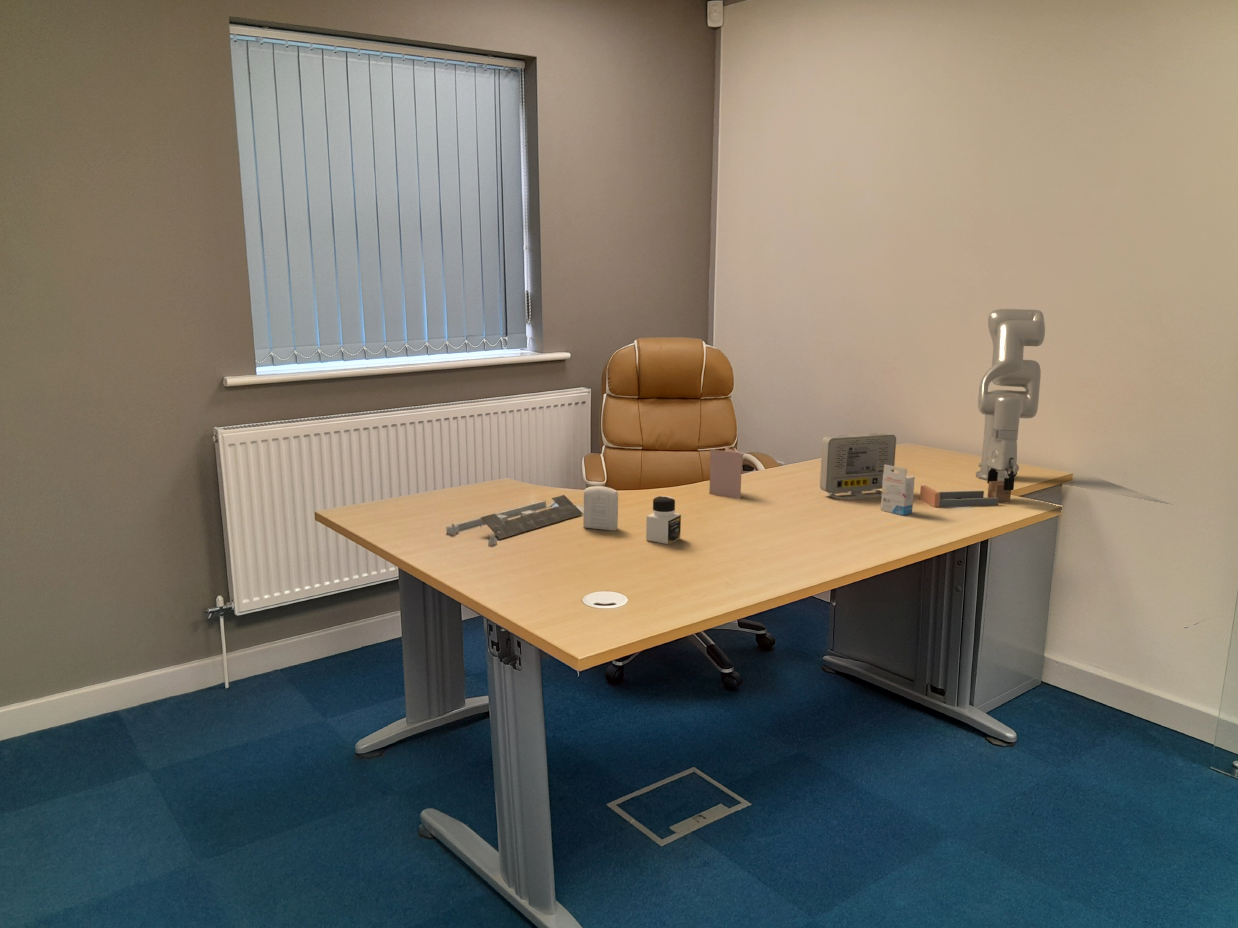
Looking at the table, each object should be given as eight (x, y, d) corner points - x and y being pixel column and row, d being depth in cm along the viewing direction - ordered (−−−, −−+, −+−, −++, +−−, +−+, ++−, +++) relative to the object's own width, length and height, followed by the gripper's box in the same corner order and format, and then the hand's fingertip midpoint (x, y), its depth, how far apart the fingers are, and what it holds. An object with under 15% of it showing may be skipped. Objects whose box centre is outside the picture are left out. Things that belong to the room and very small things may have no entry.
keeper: (987, 499, 302) (988, 481, 300) (1001, 498, 302) (1003, 481, 301) (995, 503, 297) (997, 485, 295) (1009, 502, 297) (1011, 484, 296)
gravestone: (619, 527, 267) (620, 486, 264) (615, 531, 263) (615, 489, 260) (586, 524, 270) (586, 483, 267) (581, 528, 266) (581, 486, 263)
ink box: (912, 513, 284) (916, 466, 281) (903, 516, 281) (907, 468, 278) (889, 507, 290) (892, 462, 287) (879, 510, 287) (883, 464, 284)
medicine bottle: (668, 544, 251) (669, 502, 249) (645, 540, 255) (646, 498, 252) (680, 538, 257) (681, 496, 254) (658, 534, 261) (659, 493, 258)
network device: (882, 488, 314) (886, 431, 310) (897, 494, 306) (901, 435, 302) (815, 494, 306) (818, 435, 302) (829, 500, 298) (833, 440, 294)
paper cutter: (446, 534, 261) (445, 515, 259) (556, 504, 294) (556, 487, 293) (489, 547, 249) (489, 527, 248) (599, 514, 283) (599, 496, 281)
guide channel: (919, 498, 301) (920, 485, 300) (981, 497, 304) (983, 483, 303) (934, 507, 291) (935, 493, 290) (998, 505, 294) (999, 491, 293)
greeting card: (742, 498, 301) (744, 453, 297) (722, 500, 298) (723, 455, 295) (726, 490, 311) (727, 446, 308) (706, 492, 308) (707, 448, 305)
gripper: (980, 430, 302) (975, 481, 306) (1008, 439, 286) (1003, 492, 289) (1001, 430, 304) (996, 481, 307) (1031, 438, 287) (1025, 492, 290)
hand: (1000, 486), depth 298 cm, fingers open, 9 cm apart
